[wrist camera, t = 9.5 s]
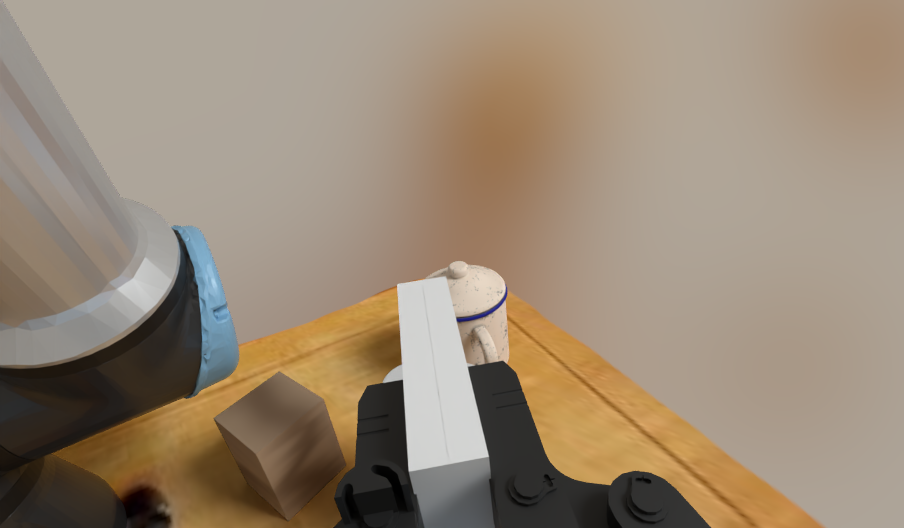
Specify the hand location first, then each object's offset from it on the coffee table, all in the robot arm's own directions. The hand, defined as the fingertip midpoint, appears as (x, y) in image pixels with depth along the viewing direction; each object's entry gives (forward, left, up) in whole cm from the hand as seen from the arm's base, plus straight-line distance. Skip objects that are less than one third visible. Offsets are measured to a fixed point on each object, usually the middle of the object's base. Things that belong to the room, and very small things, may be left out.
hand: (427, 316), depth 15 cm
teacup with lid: (+16, +20, -26) cm, 36 cm away
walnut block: (-4, +21, -26) cm, 33 cm away
